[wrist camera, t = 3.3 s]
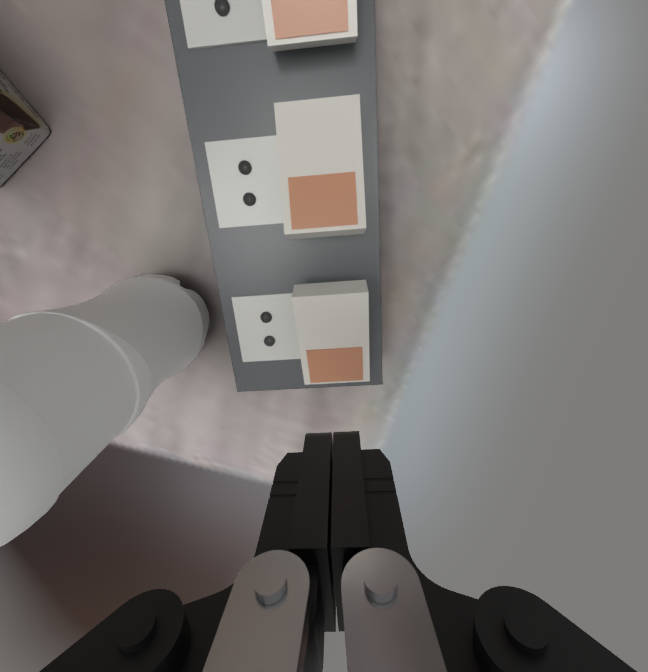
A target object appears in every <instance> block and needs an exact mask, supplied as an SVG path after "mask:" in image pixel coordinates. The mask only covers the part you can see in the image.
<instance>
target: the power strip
mask: <svg viewBox="0 0 648 672" xmlns="http://www.w3.org/2000/svg"><path fill="white" fill-rule="evenodd" d="M165 6H166V11H167V16H168V22H169V27H170V32H171V38H172V43H173V48H174V54H175V59H176V65H177V70H178V75H179V81H180V86H181V91H182V97H183V102H184V108H185V113H186V118H187V124H188V129H189V134H190V140H191V145H192V150H193V156H194V161H195V167H196V172H197V177H198V183H199V188H200V193H201V199H202V204H203V209H204V215H205V220H206V226H207V231H208V236H209V242H210V247H211V252H212V258H213V263H214V269H215V274H216V279H217V285H218V290H219V295H220V301H221V306H222V311H223V317H224V322H225V328H226V333H227V338H228V344H229V349H230V354H231V360H232V365H233V370H234V376H235V381H236V387H237V392H242V391H261V390H281V389H300V388H320V387H339V386H359V385H378V384H383V382H382V334H381V286H380V238H379V190H378V142H377V94H376V46H375V0H357V32H358V36H357V39H356V42H355V43H346V44H337V45H328V46H320V47H311V48H302V49H293V50H284V51H275V52H273V51H272V50H271V49H270V48H269V47H268V45H267V37H266V30H265V23H264V15H263V8H262V0H165ZM355 94H360V111H361V131H362V151H363V170H364V190H365V210H366V231H365V233H364V234H356V235H344V236H331V237H318V238H305V239H292V240H289V239H288V238H287V237H286V236H285V235H284V225H283V212H282V199H281V187H280V174H279V162H278V149H277V136H276V124H275V111H274V103H277V102H287V101H297V100H307V99H316V98H326V97H336V96H345V95H355ZM352 280H366V282H367V287H368V292H369V362H370V381H368V382H348V383H329V384H310V385H305V384H304V378H303V371H302V364H301V358H300V351H299V345H298V338H297V331H296V325H295V318H294V312H293V305H292V298H291V297H292V292H293V288H294V285H295V284H309V283H324V282H338V281H352Z"/></svg>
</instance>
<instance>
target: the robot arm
mask: <svg viewBox="0 0 648 672" xmlns="http://www.w3.org/2000/svg"><path fill="white" fill-rule="evenodd" d="M336 607H337V617H338V627H339V631H345V643H346V656H347V669H348V672H637V671H635V670H634V669H633V668H631V667H630V666H629V665H627V664H626V663H625V662H623V661H622V660H621V659H619V658H618V657H617V656H615V655H614V654H613V653H612V652H610V651H609V650H608V649H606V648H605V647H604V646H602V645H601V644H600V643H598V642H597V641H596V640H594V639H593V638H592V637H591V636H589V635H588V634H587V633H585V632H584V631H583V630H582V629H580V628H579V627H578V626H576V625H575V624H574V623H572V622H571V621H570V620H568V619H567V618H566V617H565V616H563V615H562V614H561V613H559V612H558V611H557V610H555V609H554V608H552V607H551V606H550V605H549V604H548V603H546V602H545V601H543V600H542V599H540V598H539V597H537V596H536V595H534V594H532V593H530V592H527V591H525V590H523V589H520V588H515V587H510V586H498V587H494V588H491V589H489V590H487V591H486V592H484V594H482V595H481V597H480V598H479V600H478V599H474V598H472V597H469V596H465V595H462V594H459V593H456V592H453V591H450V590H447V589H445V588H442V587H441V586H439V585H437V584H435V583H434V582H432V581H431V580H429V579H428V578H427V577H425V575H424V574H422V573H421V571H420V570H419V569H418V568H417V567H416V565H415V563H414V562H413V560H412V558H411V556H410V553H409V550H408V546H407V541H406V536H405V532H404V527H403V522H402V517H401V513H400V508H399V503H398V498H397V495H396V489H395V484H394V481H393V475H392V470H391V465H390V462H389V460H388V459H387V458H386V457H385V455H384V454H383V453H382V452H381V450H380V449H371V450H361V447H360V436H359V431H351V432H334V433H333V439H332V432H331V433H307V434H306V436H305V442H304V448H303V452H298V453H287V454H286V456H285V457H284V458H283V459H282V461H281V462H280V463H279V464H278V466H277V468H276V472H275V476H274V480H273V485H272V488H271V492H270V498H269V501H268V505H267V509H266V513H265V517H264V521H263V525H262V529H261V533H260V537H259V541H258V545H257V549H256V553H255V556H254V558H253V559H252V560H250V561H249V562H248V563H247V564H246V565H245V566H244V567H243V568H242V570H241V571H240V573H239V574H238V576H237V578H236V580H235V582H234V583H233V584H232V585H231V586H229V587H228V588H226V589H224V590H222V591H220V592H218V593H216V594H213V595H210V596H207V597H205V598H202V599H199V600H197V601H193V602H191V603H188V604H185V605H183V604H182V601H181V600H180V598H179V597H178V596H177V595H176V594H175V593H174V592H172V591H170V590H166V589H155V590H150V591H146V592H144V593H141V594H139V595H137V596H135V597H133V598H132V599H130V600H129V601H127V602H126V603H124V604H123V605H122V606H120V607H119V608H118V609H117V610H116V611H114V612H113V613H112V614H111V615H109V616H108V617H107V618H106V619H104V620H103V621H102V622H101V623H99V624H98V625H97V626H96V627H94V628H93V629H92V630H91V631H89V632H88V633H87V634H86V635H85V636H83V637H82V638H81V639H79V640H78V641H77V642H76V643H74V644H73V645H72V646H71V647H69V648H68V649H67V650H66V651H65V652H63V653H62V654H61V655H59V656H58V657H57V658H56V659H54V660H53V661H52V662H51V663H50V664H48V665H47V666H46V667H45V668H43V669H42V670H41V671H40V672H322V669H323V655H324V654H323V653H324V632H327V631H328V632H330V631H331V632H333V631H334V632H335V631H336Z"/></svg>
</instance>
